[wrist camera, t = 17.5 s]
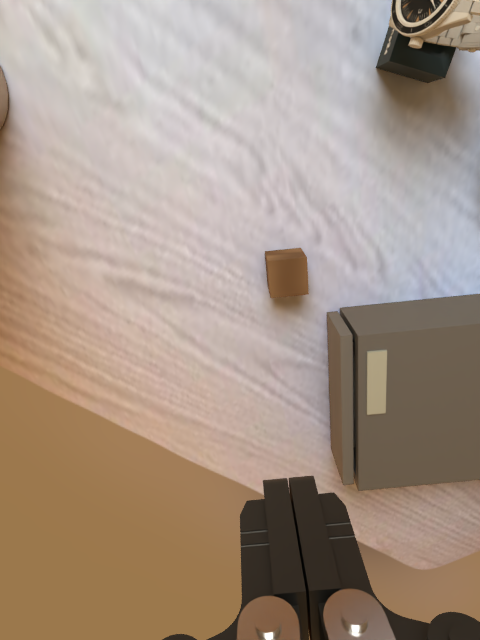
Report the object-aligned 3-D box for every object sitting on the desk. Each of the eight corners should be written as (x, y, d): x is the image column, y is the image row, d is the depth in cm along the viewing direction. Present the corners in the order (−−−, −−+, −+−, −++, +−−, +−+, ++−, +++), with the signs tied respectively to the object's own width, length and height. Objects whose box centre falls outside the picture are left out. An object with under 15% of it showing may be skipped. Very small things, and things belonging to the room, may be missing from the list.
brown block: (267, 285, 41) (270, 298, 38) (264, 251, 40) (267, 261, 37) (302, 282, 41) (308, 294, 38) (300, 247, 40) (306, 257, 37)
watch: (377, -24, 32) (444, -100, 22) (478, 8, 33) (587, -51, 23) (351, 61, 34) (402, 28, 24) (447, 90, 35) (535, 69, 25)
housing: (342, 446, 48) (359, 492, 42) (339, 307, 42) (358, 336, 36) (511, 430, 48) (553, 474, 41) (532, 288, 42) (585, 314, 35)
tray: (331, 448, 48) (343, 485, 42) (326, 312, 42) (340, 336, 37) (500, 432, 47) (533, 467, 42) (520, 292, 41) (561, 314, 36)
